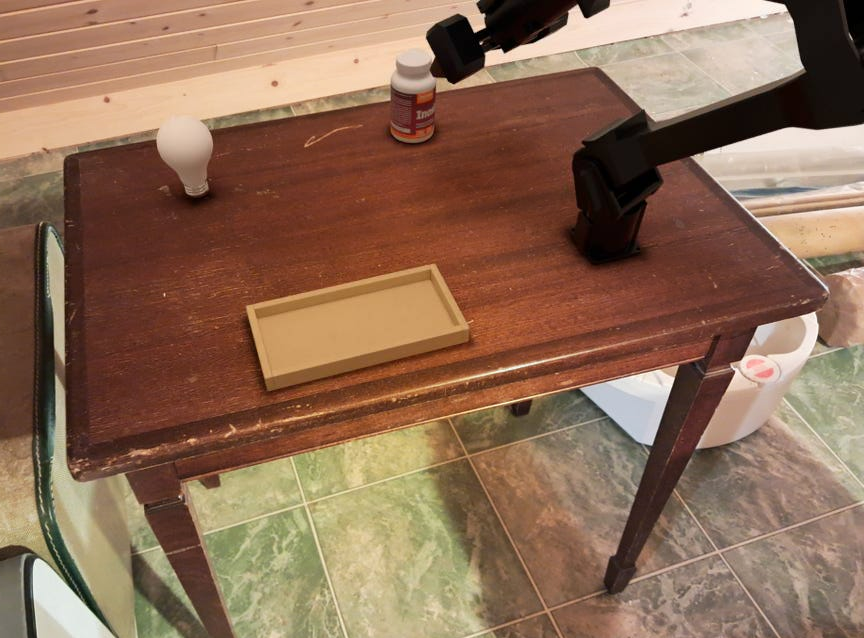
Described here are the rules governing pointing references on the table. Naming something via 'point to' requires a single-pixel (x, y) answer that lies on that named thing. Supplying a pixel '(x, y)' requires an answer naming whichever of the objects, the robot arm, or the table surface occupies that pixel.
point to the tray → (355, 326)
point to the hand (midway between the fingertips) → (458, 59)
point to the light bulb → (187, 151)
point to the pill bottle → (413, 97)
